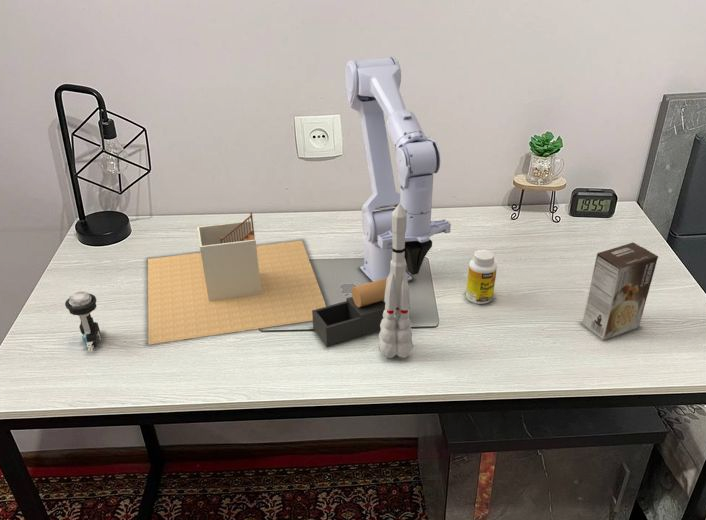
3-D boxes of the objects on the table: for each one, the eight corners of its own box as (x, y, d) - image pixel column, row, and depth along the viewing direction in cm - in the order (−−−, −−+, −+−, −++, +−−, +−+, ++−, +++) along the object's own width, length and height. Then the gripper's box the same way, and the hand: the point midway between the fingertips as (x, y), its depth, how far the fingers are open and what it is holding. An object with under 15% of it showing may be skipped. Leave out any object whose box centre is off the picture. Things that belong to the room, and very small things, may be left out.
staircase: (262, 294, 145) (254, 221, 135) (209, 301, 143) (196, 228, 133) (257, 272, 152) (249, 202, 141) (206, 279, 149) (194, 208, 139)
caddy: (313, 329, 135) (311, 307, 132) (374, 311, 140) (374, 290, 137) (327, 347, 130) (325, 325, 127) (389, 328, 135) (390, 307, 132)
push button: (105, 351, 129) (92, 307, 123) (75, 355, 128) (60, 310, 122) (108, 331, 134) (96, 287, 128) (79, 334, 134) (65, 290, 128)
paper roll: (351, 300, 134) (351, 283, 131) (384, 291, 136) (384, 274, 134) (361, 311, 131) (360, 293, 129) (393, 301, 134) (394, 284, 131)
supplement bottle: (477, 308, 141) (482, 264, 134) (460, 295, 144) (464, 252, 138) (498, 299, 143) (504, 256, 137) (480, 287, 147) (485, 244, 141)
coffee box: (616, 311, 140) (634, 240, 130) (639, 328, 135) (660, 256, 125) (580, 324, 136) (596, 252, 126) (603, 341, 132) (621, 268, 122)
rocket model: (397, 370, 125) (401, 218, 107) (367, 352, 129) (366, 204, 111) (423, 351, 129) (432, 202, 111) (393, 335, 133) (397, 189, 115)
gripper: (390, 225, 121) (389, 291, 129) (461, 208, 126) (456, 272, 134) (372, 208, 126) (372, 273, 134) (441, 193, 131) (437, 256, 139)
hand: (413, 272), depth 134 cm, fingers closed
